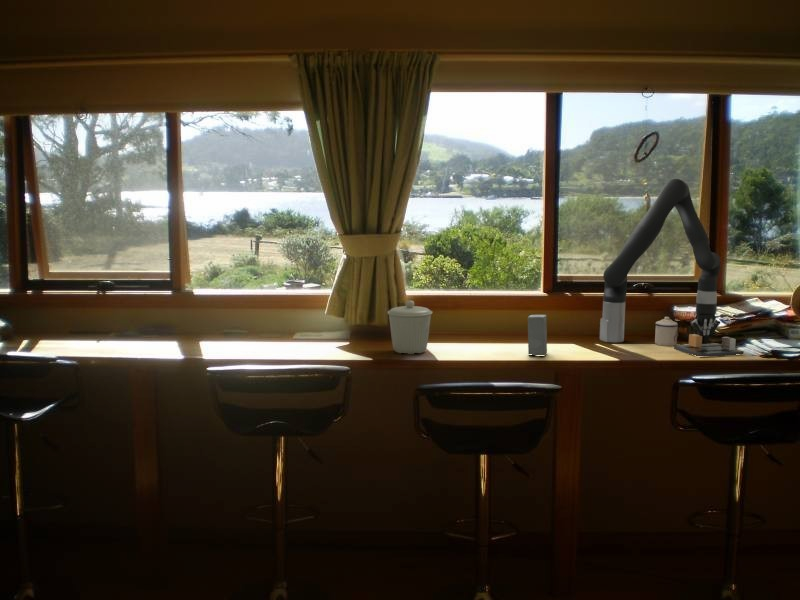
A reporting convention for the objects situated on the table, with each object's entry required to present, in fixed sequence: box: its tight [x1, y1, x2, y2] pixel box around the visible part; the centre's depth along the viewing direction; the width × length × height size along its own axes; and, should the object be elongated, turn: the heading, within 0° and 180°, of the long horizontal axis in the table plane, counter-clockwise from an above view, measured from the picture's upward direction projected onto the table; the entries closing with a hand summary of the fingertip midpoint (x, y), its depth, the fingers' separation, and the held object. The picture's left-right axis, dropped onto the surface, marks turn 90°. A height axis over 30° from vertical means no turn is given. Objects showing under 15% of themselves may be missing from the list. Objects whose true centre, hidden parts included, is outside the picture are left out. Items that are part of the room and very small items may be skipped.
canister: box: [386, 300, 433, 355], centre depth 281 cm, size 18×18×21 cm
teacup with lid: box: [654, 316, 679, 347], centre depth 298 cm, size 12×9×12 cm
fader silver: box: [721, 336, 737, 350], centre depth 279 cm, size 3×5×5 cm, turn 13°
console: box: [673, 342, 745, 357], centre depth 282 cm, size 20×17×2 cm
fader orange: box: [688, 333, 702, 347], centre depth 284 cm, size 3×5×5 cm, turn 12°
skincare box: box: [527, 314, 548, 356], centre depth 276 cm, size 8×7×16 cm
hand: (703, 343), depth 285 cm, fingers closed
